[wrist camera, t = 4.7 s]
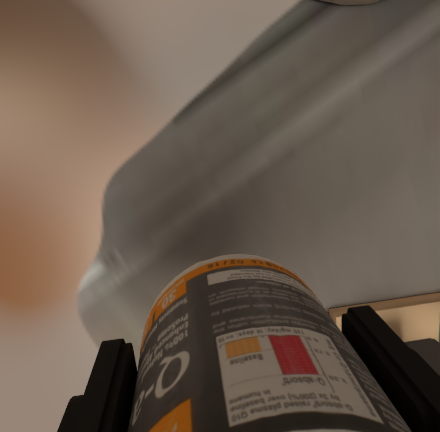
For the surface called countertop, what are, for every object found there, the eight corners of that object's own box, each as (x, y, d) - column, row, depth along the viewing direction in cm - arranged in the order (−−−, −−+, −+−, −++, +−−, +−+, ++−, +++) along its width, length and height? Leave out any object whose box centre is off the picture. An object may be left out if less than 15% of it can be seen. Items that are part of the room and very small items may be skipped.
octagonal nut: (373, 322, 21) (468, 415, 14) (408, 317, 21) (518, 406, 14) (374, 429, 23) (460, 558, 16) (406, 423, 23) (504, 549, 16)
